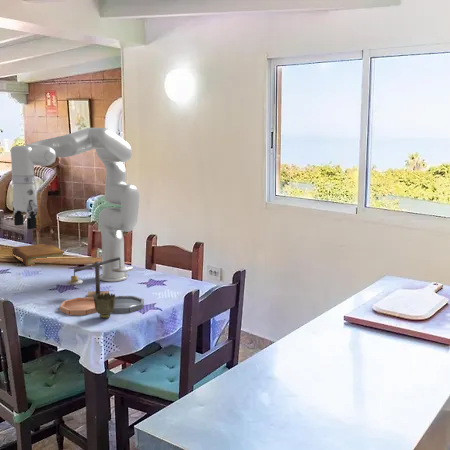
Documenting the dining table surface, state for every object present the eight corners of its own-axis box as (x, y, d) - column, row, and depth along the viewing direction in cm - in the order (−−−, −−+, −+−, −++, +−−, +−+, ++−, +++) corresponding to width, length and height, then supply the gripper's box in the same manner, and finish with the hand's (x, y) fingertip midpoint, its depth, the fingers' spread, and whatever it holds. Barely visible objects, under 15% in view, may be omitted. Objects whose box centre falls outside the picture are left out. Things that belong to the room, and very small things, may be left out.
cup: (113, 321, 183) (112, 299, 182) (91, 320, 183) (91, 298, 182) (117, 314, 191) (117, 292, 189) (97, 313, 191) (96, 292, 189)
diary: (12, 258, 273) (12, 247, 272) (49, 253, 284) (48, 243, 283) (26, 267, 254) (25, 255, 253) (64, 262, 265) (64, 250, 264)
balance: (128, 293, 215) (127, 254, 213) (127, 299, 208) (127, 259, 205) (68, 294, 212) (67, 255, 209) (65, 301, 204) (64, 260, 201)
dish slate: (126, 297, 209) (126, 293, 209) (151, 306, 200) (151, 301, 200) (95, 306, 199) (95, 301, 198) (119, 315, 189) (119, 310, 189)
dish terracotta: (87, 299, 206) (87, 295, 206) (110, 308, 197) (110, 303, 197) (53, 308, 196) (53, 303, 195) (76, 317, 186) (75, 313, 186)
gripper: (45, 181, 190) (46, 228, 193) (21, 178, 202) (23, 222, 204) (24, 182, 185) (27, 231, 187) (2, 179, 196) (4, 225, 199)
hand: (25, 226), depth 196 cm, fingers open, 9 cm apart
